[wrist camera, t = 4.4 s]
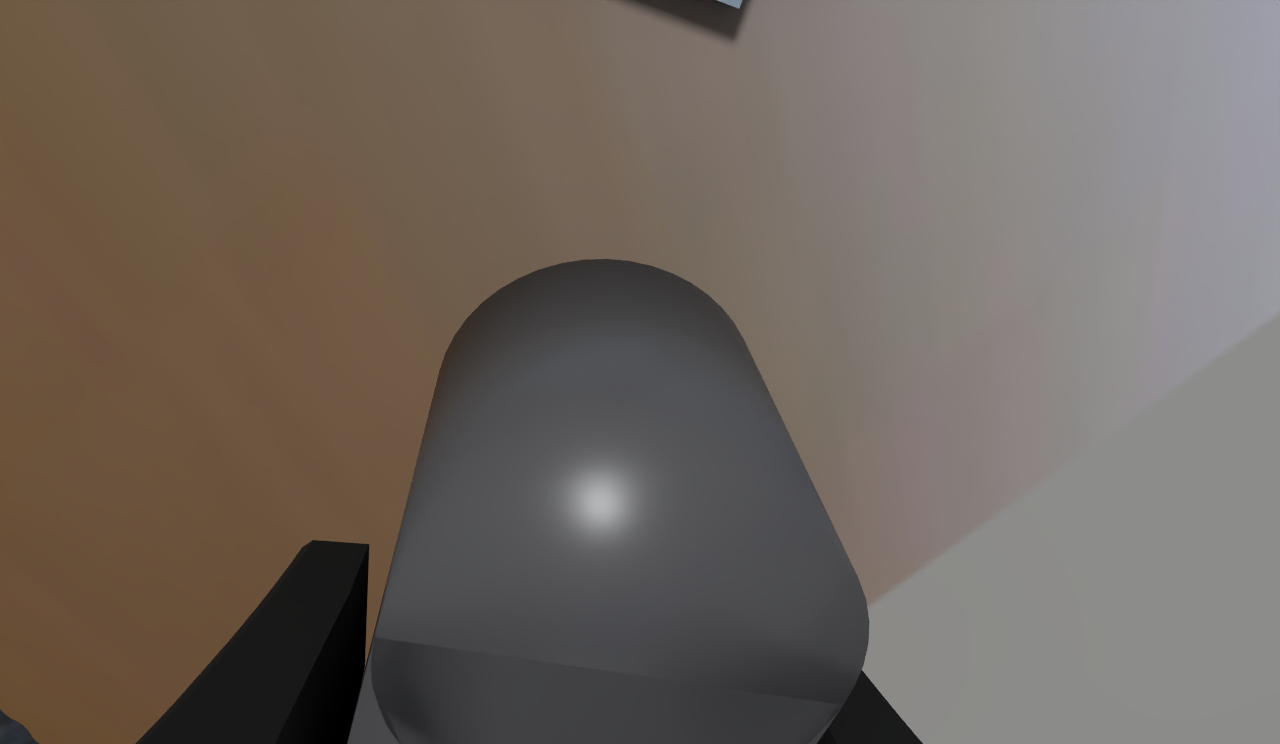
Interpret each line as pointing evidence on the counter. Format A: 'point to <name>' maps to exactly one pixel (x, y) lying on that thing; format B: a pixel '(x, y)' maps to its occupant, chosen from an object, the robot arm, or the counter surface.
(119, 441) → the counter surface
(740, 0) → the rubber mat
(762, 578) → the connector
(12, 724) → the dark slate chunk
